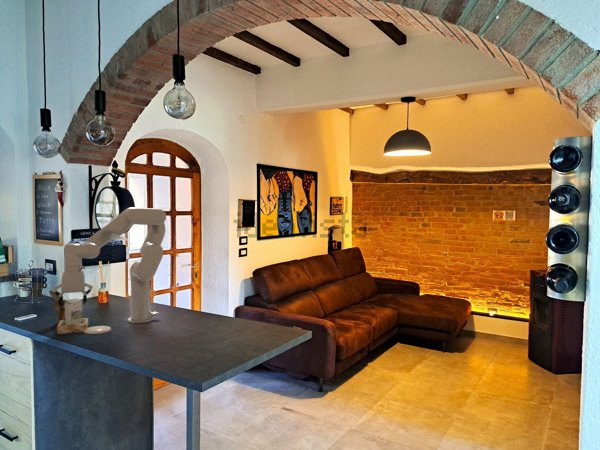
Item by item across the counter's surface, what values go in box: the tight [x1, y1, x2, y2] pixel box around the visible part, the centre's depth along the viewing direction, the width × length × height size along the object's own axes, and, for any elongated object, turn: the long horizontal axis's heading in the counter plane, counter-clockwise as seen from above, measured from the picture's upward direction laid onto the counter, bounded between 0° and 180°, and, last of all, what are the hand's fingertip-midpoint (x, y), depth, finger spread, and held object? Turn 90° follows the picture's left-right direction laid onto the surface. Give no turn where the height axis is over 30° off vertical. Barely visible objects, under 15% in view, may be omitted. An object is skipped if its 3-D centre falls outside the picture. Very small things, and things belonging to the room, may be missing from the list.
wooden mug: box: [49, 290, 70, 325], centre depth 222 cm, size 9×14×18 cm, turn 149°
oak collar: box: [56, 317, 89, 335], centre depth 212 cm, size 12×12×4 cm
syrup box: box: [64, 298, 83, 325], centre depth 212 cm, size 6×6×14 cm
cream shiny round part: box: [83, 325, 112, 335], centre depth 211 cm, size 12×12×1 cm
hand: (73, 304), depth 212 cm, fingers open, 9 cm apart
